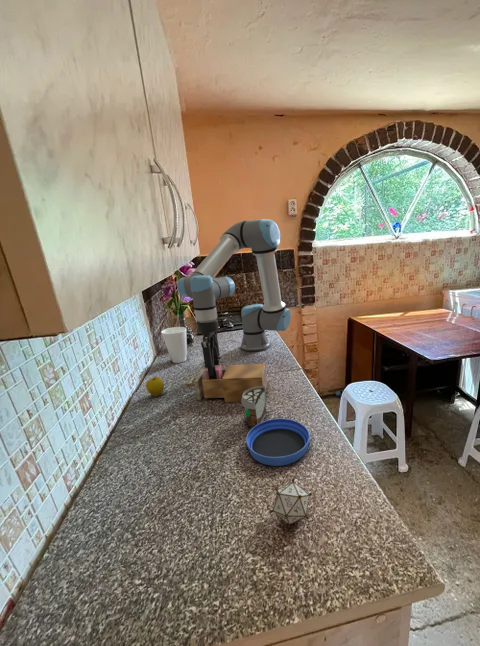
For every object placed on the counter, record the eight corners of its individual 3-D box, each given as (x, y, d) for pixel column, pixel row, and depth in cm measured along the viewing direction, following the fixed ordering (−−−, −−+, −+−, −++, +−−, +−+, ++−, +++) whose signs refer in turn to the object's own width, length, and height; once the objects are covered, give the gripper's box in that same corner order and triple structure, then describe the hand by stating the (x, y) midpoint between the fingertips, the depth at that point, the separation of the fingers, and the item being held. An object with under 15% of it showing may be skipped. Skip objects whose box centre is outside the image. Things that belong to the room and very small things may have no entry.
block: (223, 376, 121) (221, 364, 119) (220, 382, 116) (218, 370, 115) (210, 377, 121) (208, 365, 119) (207, 382, 116) (205, 370, 115)
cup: (190, 362, 153) (185, 332, 148) (165, 366, 151) (159, 334, 145) (192, 354, 164) (187, 325, 158) (168, 357, 162) (162, 328, 156)
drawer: (186, 400, 116) (182, 381, 113) (195, 386, 126) (192, 368, 124) (233, 398, 115) (231, 379, 112) (238, 384, 126) (236, 367, 123)
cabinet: (224, 402, 115) (221, 378, 112) (231, 386, 127) (228, 365, 123) (263, 400, 114) (262, 377, 111) (266, 385, 126) (265, 363, 123)
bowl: (234, 450, 89) (232, 439, 87) (277, 421, 101) (276, 412, 100) (280, 478, 77) (280, 467, 76) (322, 442, 90) (322, 432, 89)
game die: (301, 531, 67) (323, 520, 61) (264, 532, 64) (283, 520, 57) (297, 488, 73) (316, 474, 66) (263, 487, 70) (280, 471, 63)
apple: (165, 389, 127) (161, 372, 124) (166, 396, 121) (162, 378, 118) (148, 393, 124) (144, 375, 122) (148, 400, 119) (144, 381, 116)
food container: (250, 409, 109) (247, 384, 105) (267, 410, 108) (265, 385, 104) (238, 430, 98) (234, 402, 94) (256, 431, 96) (254, 403, 93)
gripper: (203, 314, 119) (211, 369, 127) (188, 327, 102) (198, 390, 110) (222, 313, 119) (229, 369, 127) (210, 326, 102) (219, 389, 110)
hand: (215, 378), depth 119 cm, fingers closed on block, 5 cm apart
